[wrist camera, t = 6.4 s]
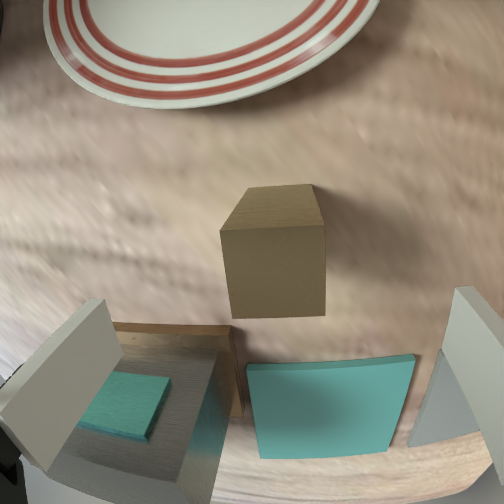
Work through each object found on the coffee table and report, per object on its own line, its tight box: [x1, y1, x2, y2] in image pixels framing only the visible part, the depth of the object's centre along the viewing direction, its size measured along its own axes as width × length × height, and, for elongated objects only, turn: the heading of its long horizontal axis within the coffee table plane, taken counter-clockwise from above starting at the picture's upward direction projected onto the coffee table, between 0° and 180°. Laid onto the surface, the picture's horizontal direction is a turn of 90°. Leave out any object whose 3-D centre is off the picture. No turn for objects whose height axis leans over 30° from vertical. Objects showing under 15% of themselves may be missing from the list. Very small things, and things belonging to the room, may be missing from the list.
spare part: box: [220, 184, 326, 319], centre depth 19 cm, size 4×4×10 cm
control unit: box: [41, 322, 245, 504], centre depth 24 cm, size 18×11×15 cm, turn 96°
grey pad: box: [407, 350, 480, 448], centre depth 28 cm, size 16×16×1 cm
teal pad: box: [246, 354, 416, 459], centre depth 31 cm, size 16×16×1 cm
